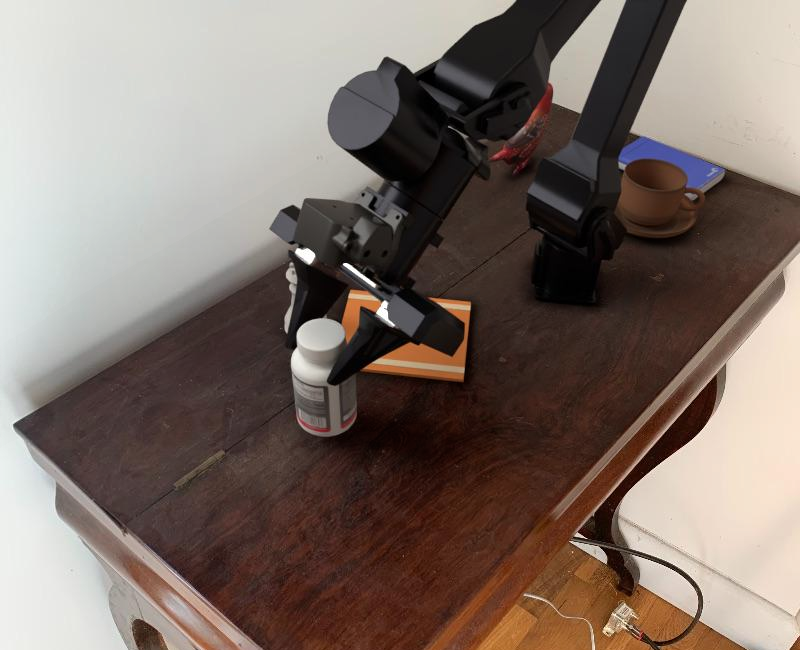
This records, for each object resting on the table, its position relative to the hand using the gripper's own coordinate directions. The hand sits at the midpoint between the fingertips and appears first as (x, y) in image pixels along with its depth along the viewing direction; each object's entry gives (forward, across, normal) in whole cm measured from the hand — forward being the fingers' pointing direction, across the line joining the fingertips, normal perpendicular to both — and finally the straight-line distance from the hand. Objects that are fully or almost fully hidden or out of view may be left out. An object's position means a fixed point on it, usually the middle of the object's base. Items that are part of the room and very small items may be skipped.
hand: (309, 365), depth 66 cm
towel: (-4, -5, +17) cm, 18 cm away
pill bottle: (+4, 0, +6) cm, 7 cm away
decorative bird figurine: (-27, -19, +40) cm, 52 cm away
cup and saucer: (-30, -2, +44) cm, 53 cm away
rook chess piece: (+1, -12, +12) cm, 17 cm away
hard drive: (-38, -7, +52) cm, 65 cm away
